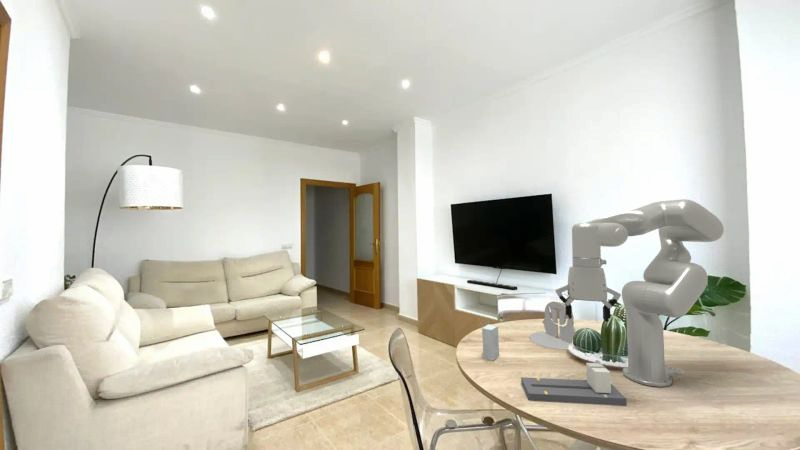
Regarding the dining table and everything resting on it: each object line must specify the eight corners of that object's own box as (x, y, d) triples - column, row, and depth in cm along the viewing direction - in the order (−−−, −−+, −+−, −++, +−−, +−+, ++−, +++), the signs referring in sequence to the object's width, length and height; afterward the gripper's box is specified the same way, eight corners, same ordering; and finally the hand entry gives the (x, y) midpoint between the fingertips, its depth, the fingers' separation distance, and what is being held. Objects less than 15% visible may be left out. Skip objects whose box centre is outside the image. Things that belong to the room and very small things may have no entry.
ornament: (580, 348, 128) (579, 308, 128) (554, 353, 124) (553, 311, 124) (541, 332, 149) (540, 297, 149) (518, 335, 145) (517, 300, 145)
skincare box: (489, 353, 126) (488, 323, 126) (499, 356, 123) (498, 325, 123) (482, 358, 121) (481, 327, 121) (493, 361, 118) (492, 329, 118)
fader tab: (601, 382, 95) (600, 363, 95) (611, 393, 89) (610, 371, 90) (586, 382, 96) (586, 362, 96) (595, 392, 90) (594, 371, 90)
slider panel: (608, 387, 97) (608, 380, 97) (626, 405, 87) (626, 398, 87) (521, 383, 101) (521, 376, 101) (528, 400, 91) (528, 393, 91)
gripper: (615, 262, 96) (617, 318, 96) (553, 261, 103) (554, 313, 102) (623, 265, 89) (624, 325, 89) (556, 263, 96) (557, 319, 95)
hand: (587, 319), depth 96 cm, fingers open, 9 cm apart
